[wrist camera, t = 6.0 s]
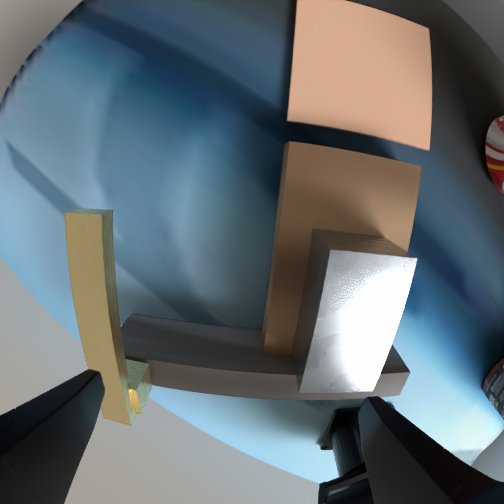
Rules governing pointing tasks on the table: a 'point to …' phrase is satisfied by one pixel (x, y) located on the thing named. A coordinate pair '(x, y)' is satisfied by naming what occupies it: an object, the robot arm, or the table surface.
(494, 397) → the supplement bottle
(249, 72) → the table surface
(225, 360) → the body
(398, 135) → the tile
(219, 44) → the table surface
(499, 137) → the soda can
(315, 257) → the steel brick
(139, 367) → the clamp bar
